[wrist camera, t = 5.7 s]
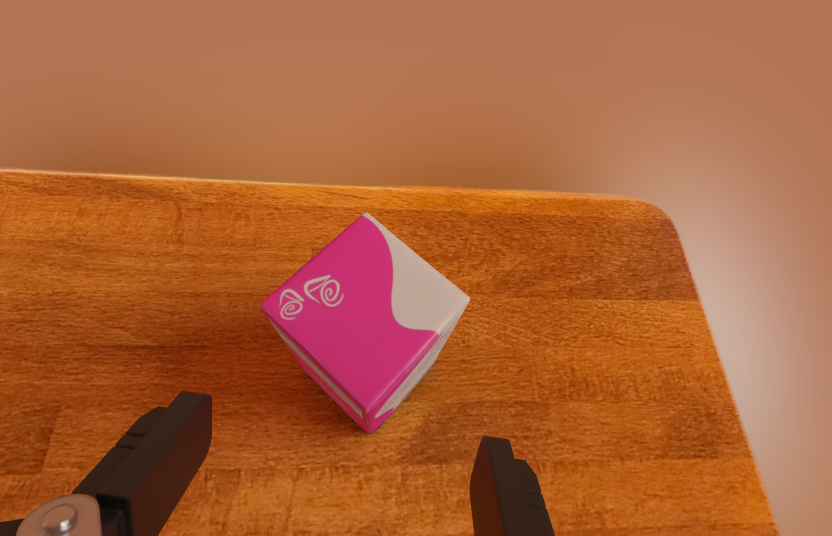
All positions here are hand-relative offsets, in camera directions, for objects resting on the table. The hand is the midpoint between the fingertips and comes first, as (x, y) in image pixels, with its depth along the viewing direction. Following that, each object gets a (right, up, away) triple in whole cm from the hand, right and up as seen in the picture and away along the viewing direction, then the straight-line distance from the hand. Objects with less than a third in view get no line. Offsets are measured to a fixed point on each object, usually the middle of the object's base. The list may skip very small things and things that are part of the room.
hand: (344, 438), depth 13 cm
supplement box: (-1, -1, +14) cm, 14 cm away
